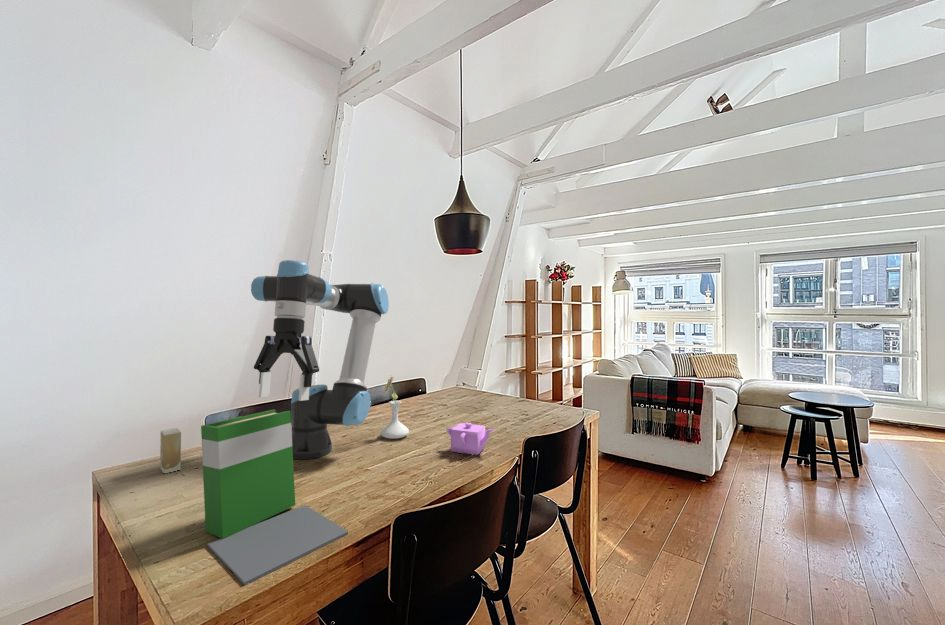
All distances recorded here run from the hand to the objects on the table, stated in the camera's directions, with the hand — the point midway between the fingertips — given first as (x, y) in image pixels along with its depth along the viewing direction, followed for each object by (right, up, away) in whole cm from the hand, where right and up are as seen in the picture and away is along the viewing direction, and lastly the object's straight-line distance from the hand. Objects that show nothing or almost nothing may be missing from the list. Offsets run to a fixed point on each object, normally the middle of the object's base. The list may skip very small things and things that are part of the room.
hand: (283, 398), depth 106 cm
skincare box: (-45, -27, +20) cm, 56 cm away
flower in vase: (+19, -27, +53) cm, 63 cm away
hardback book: (-3, -27, -9) cm, 29 cm away
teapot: (+49, -28, +38) cm, 68 cm away
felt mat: (+7, -28, -17) cm, 33 cm away
